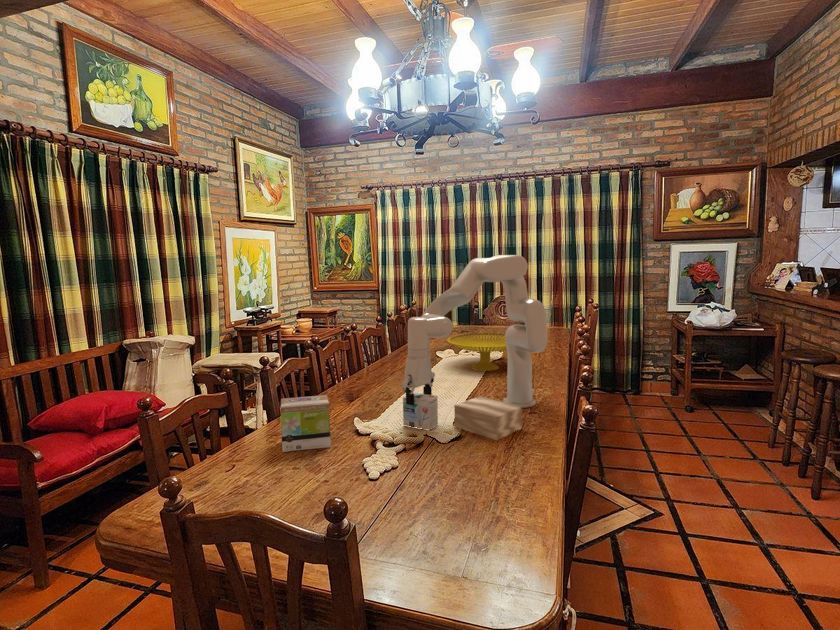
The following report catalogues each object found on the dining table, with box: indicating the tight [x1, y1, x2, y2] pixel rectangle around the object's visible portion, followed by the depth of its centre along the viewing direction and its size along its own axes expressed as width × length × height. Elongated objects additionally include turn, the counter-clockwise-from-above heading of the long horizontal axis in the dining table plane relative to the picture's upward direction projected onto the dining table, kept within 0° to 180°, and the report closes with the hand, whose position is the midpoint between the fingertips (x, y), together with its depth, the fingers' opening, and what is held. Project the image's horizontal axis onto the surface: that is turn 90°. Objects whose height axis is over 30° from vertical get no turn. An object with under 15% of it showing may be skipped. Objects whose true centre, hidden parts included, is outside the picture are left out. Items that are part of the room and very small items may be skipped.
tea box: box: [280, 394, 332, 453], centre depth 151 cm, size 15×10×15 cm
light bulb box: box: [402, 392, 439, 429], centre depth 166 cm, size 11×7×11 cm, turn 62°
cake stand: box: [445, 332, 507, 372], centre depth 246 cm, size 40×40×15 cm
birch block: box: [454, 395, 523, 441], centre depth 163 cm, size 14×18×8 cm
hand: (418, 401), depth 165 cm, fingers open, 9 cm apart
